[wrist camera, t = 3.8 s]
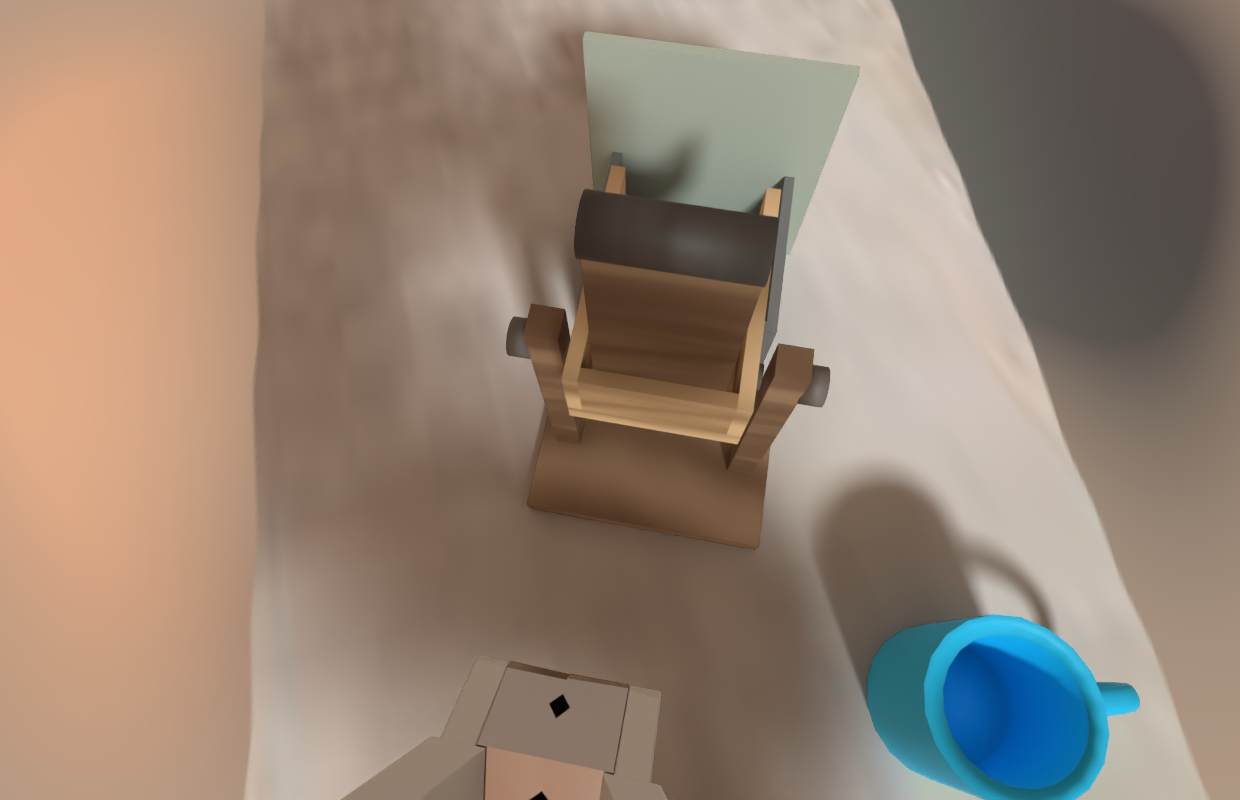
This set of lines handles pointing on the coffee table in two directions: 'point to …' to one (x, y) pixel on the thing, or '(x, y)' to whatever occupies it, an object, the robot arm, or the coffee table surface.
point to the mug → (994, 708)
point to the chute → (669, 312)
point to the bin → (714, 129)
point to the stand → (657, 449)
